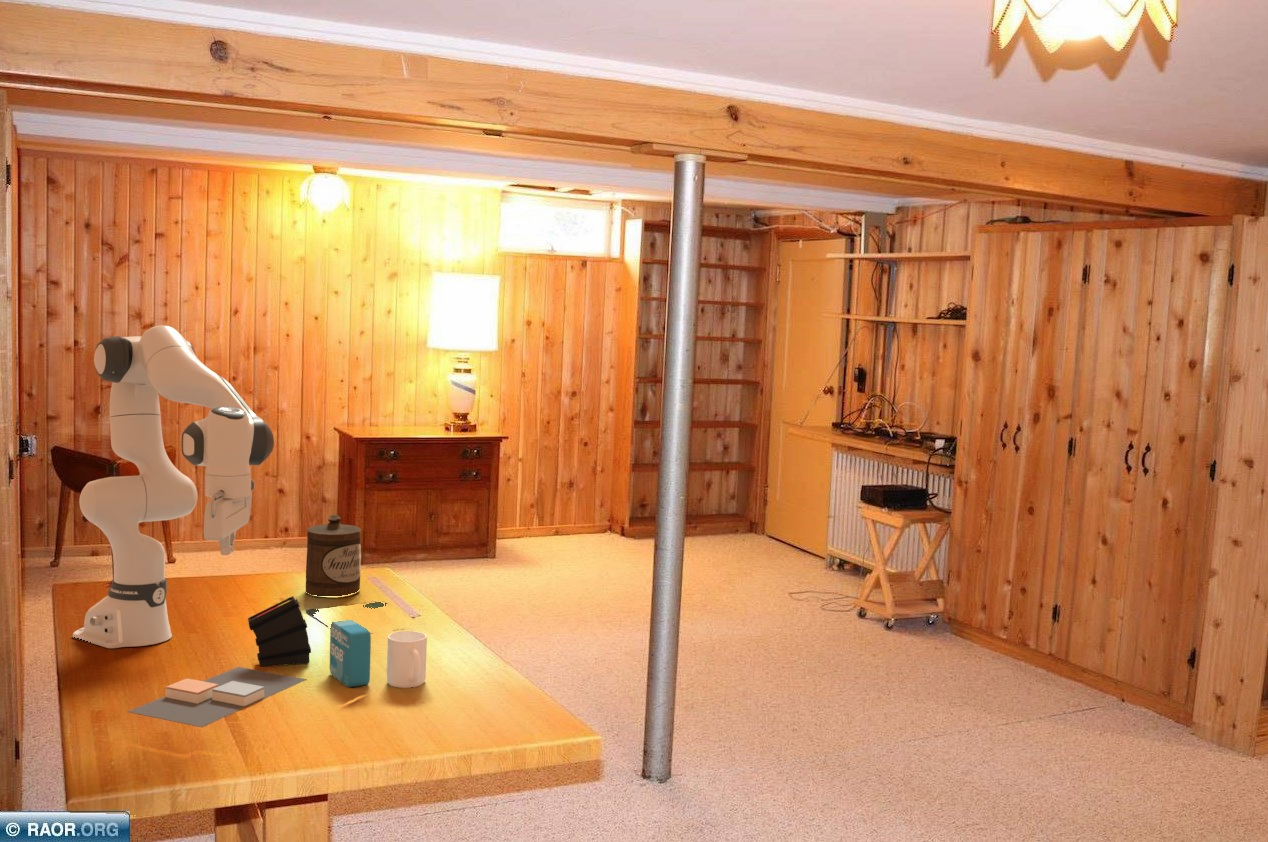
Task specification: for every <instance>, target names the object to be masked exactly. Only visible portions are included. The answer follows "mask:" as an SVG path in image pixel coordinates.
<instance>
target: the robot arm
mask: <svg viewBox="0 0 1268 842" xmlns="http://www.w3.org/2000/svg"><path fill="white" fill-rule="evenodd" d="M93 362H94V363H93V364H94V368H95V371H96V374H97V375H98V377H100V379H101V380H103V381H106V382H108V383H109V382H110V383H111V387H110V388H111V389H110V395H109V425H110V426H109V428H110V429H109V431H110V446H111V450H112V451H113V453H114V454H115V455H116V456H118V458H121V459H123V460H126V461H128V462H131V463H133V464H134V465H135V466H136V467H137V469H138V472H139V474H138V475H123V476H108V477H104V478H98V479H95V480H92V481H91V480H90V481H89V482H87V483H86V484H85V486H83V488H82V490H81V491H80V492H81V493H80V496H79V500H78V501H79V508H80V511H81V513H82V515H83V517H84V518H85V519H86V520H87V521H89V522H90V523H91V524H93V525H95V526H96V527H97V528H98V529H100V530H101V531H102V533H103V534H104V535H105V537H106V538H107V541H108V542H109V545H110V546H111V552H112V561H113V579H112V581H109V582H104V585H105V586H104V587H103V588H104V589H108V588H109V589H108V591H107V594H106V596H105V597H103V598H101V599H100V601H98V602H97V603H95V604H94V605H93V606H91V607H90V608H88V610H87V611H86V613H85V615H84V616H85V617H84V620H83V621H84V623H83V627H81V628H79V629H77V630H75V631H74V632H73V633H72V638H74V637H75V638H74V639H77V638H79V639H78V640H80V639H82V640H81V641H83V640H85V641H84V642H86V641H88V642H87V643H90V642H91V643H90V644H92V645H93V644H94V645H97V646H98V647H99V646H100V647H103V648H106V649H119V648H126V647H127V648H128V647H142V646H143V647H144V646H150V645H156V644H159V643H163V642H166V641H168V640H170V639H172V637H173V634H172V630H171V625H170V622H169V616H168V608H167V600H166V597H167V592H168V590H167V589H168V579H167V578H166V577H165V575H166V571H165V569H166V566H165V565H166V555H165V554H166V551H165V547H164V546H163V544H162V543H161V542H160V541H159V540H157V539H155V537H151V536H149V535H146V534H143V533H141V532H140V529H139V528H140V527H139V526H140V525H139V524H140V523H141V524H142V523H143V522H144V523H146V522H160V521H171V520H174V519H179V518H183V517H185V516H189V515H190V514H191V513H192V512H193V511H194V509H195V507H196V505H197V502H198V495H199V494H198V489H197V487H196V485H195V483H194V481H193V480H192V479H191V478H190V477H189V476H187V475H186V474H184V473H182V472H181V471H180V470H179V469H178V468H177V467H176V466H175V465H174V463H173V462H172V461H171V459H170V458H169V456H168V454H167V452H166V451H167V450H166V449H165V445H164V444H165V443H164V438H163V437H164V436H163V429H162V416H161V415H162V414H161V404H160V396H161V397H163V398H165V399H167V400H169V401H171V402H176V403H182V404H190V405H197V406H201V407H204V408H209V409H210V410H209V411H208V414H207V415H206V417H204V418H203V419H200V420H196V421H192V422H191V423H190V424H189V425H187V427H186V428H185V429H184V430H183V432H181V433H182V434H181V454H182V456H183V457H184V459H185V460H187V461H188V462H189V463H190V464H191V465H192V466H197V467H198V466H199V467H206V468H205V473H204V496H205V497H207V498H211V500H209V501H208V502H207V503H206V505H205V508H204V517H203V518H204V520H203V537H204V540H205V541H213V542H214V541H218V543H219V546H220V555H221V556H229V555H231V554H232V553H233V552H234V548H235V547H234V546H235V545H234V544H235V540H236V537H237V531H238V530H240V529H241V528H242V527H244V526H245V525H248V523H249V522H250V518H251V509H252V501H253V500H252V499H253V493H252V492H253V491H255V484H256V482H255V480H254V479H252V476H251V475H252V471H251V467H250V466H260V465H261V464H263V463H264V462H265V461H266V460H267V459H268V458H269V456H271V454H272V453H273V450H274V446H275V438H274V434H273V431H272V429H271V428H270V427H269V425H268V424H267V423H266V422H265V421H264V420H263V419H262V418H261V417H259V416H258V415H257V414H256V413H255V412H253V410H252V409H251V407H250V406H249V405H248V404H247V403H246V402H245V400H244V399H243V398H242V397H241V396H240V394H239V393H238V392H237V391H236V389H235V388H234V387H233V386H232V384H231V383H230V382H229V381H228V380H227V379H225V377H223V376H221V375H220V374H218V373H216V372H215V371H213V370H211V369H210V368H209V367H208V366H206V365H205V364H204V363H203V362H202V361H201V360H200V359H199V358H198V356H196V352H195V349H194V347H193V345H192V344H191V342H190V341H189V340H186V339H185V337H184V336H183V335H182V334H181V333H180V332H179V331H178V330H177V329H175V328H174V327H172V326H168V325H155V326H153V327H150V328H148V329H147V330H145V331H144V332H143V333H142V335H141V336H140V335H139V336H137V335H135V336H134V335H133V336H120V335H114V336H109V337H108V336H107V337H104V338H102V339H101V340H100V341H99V342H98V343H97V345H96V347H95V350H94V357H93ZM159 395H160V396H159Z"/></svg>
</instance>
